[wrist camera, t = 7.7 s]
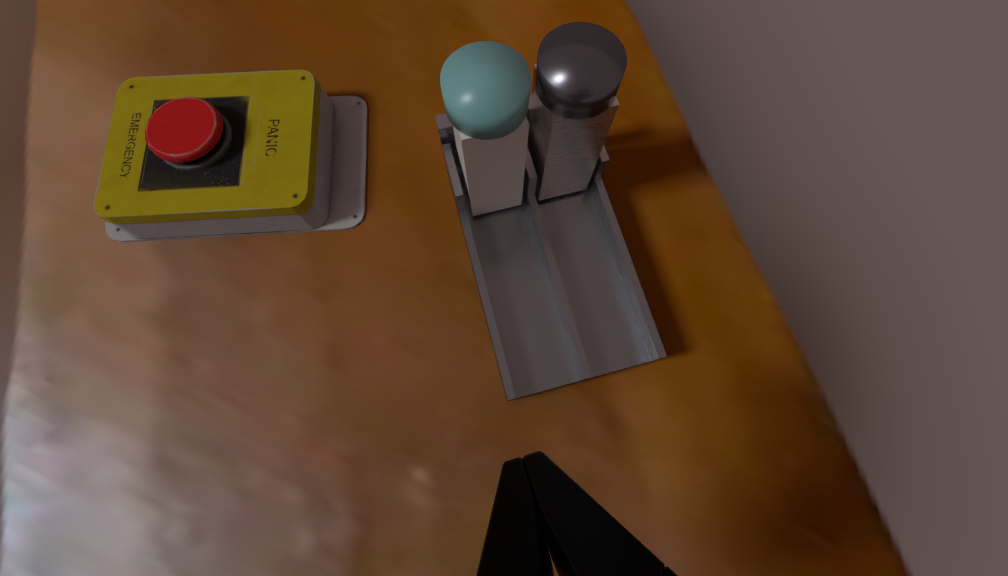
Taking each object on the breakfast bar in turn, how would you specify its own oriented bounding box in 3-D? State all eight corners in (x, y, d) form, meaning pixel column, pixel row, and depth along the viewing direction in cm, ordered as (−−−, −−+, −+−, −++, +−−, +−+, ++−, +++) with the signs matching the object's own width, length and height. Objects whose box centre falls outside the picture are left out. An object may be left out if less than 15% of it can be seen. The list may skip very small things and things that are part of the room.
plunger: (528, 208, 24) (541, 105, 16) (468, 222, 24) (451, 125, 15) (511, 156, 25) (517, 33, 17) (454, 169, 24) (431, 51, 16)
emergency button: (72, 59, 23) (347, 47, 24) (138, 112, 28) (370, 101, 28) (33, 213, 21) (341, 197, 21) (111, 246, 25) (367, 232, 26)
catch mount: (650, 361, 23) (755, 329, 13) (507, 401, 22) (511, 396, 13) (572, 142, 27) (612, -5, 17) (447, 171, 26) (416, 35, 16)
